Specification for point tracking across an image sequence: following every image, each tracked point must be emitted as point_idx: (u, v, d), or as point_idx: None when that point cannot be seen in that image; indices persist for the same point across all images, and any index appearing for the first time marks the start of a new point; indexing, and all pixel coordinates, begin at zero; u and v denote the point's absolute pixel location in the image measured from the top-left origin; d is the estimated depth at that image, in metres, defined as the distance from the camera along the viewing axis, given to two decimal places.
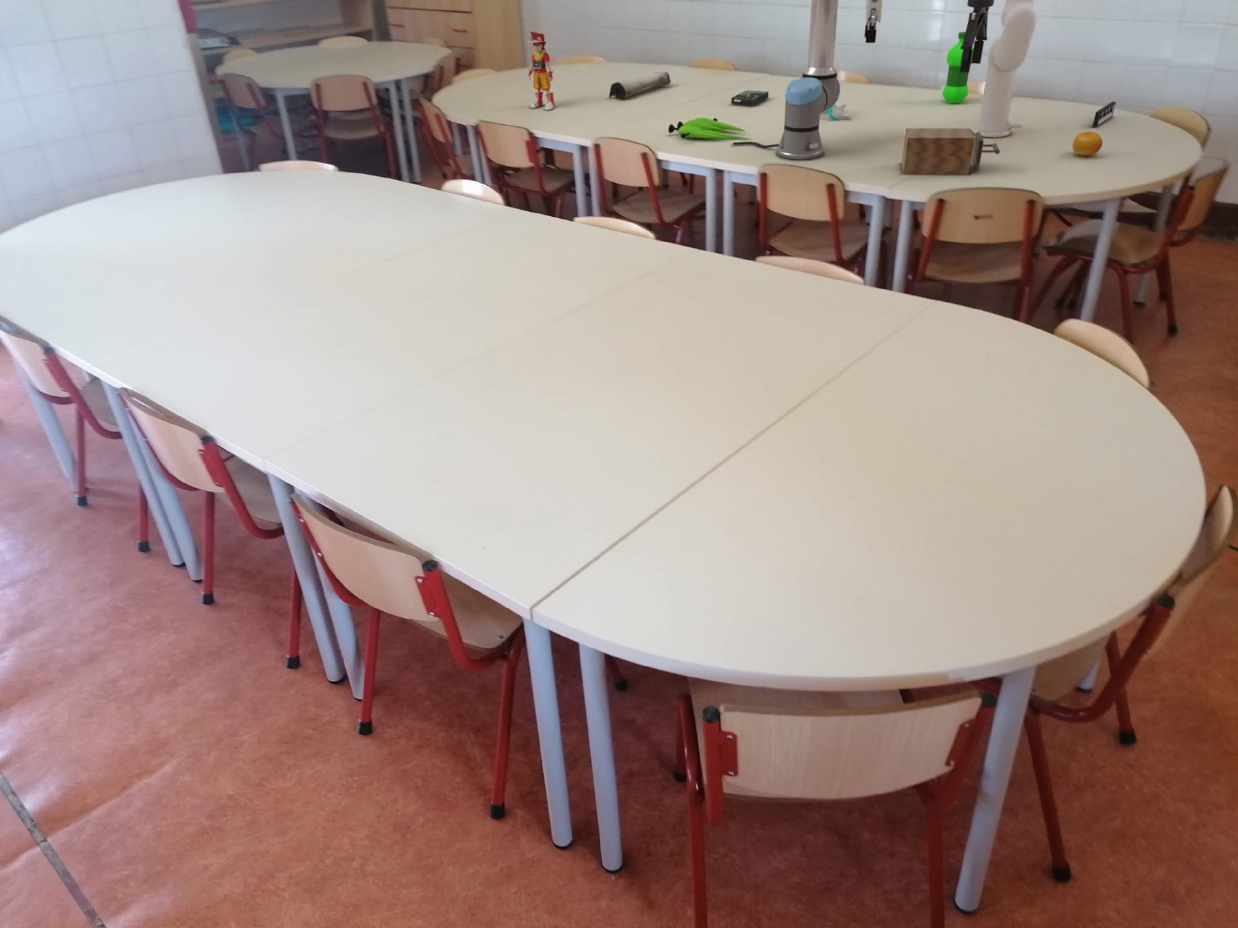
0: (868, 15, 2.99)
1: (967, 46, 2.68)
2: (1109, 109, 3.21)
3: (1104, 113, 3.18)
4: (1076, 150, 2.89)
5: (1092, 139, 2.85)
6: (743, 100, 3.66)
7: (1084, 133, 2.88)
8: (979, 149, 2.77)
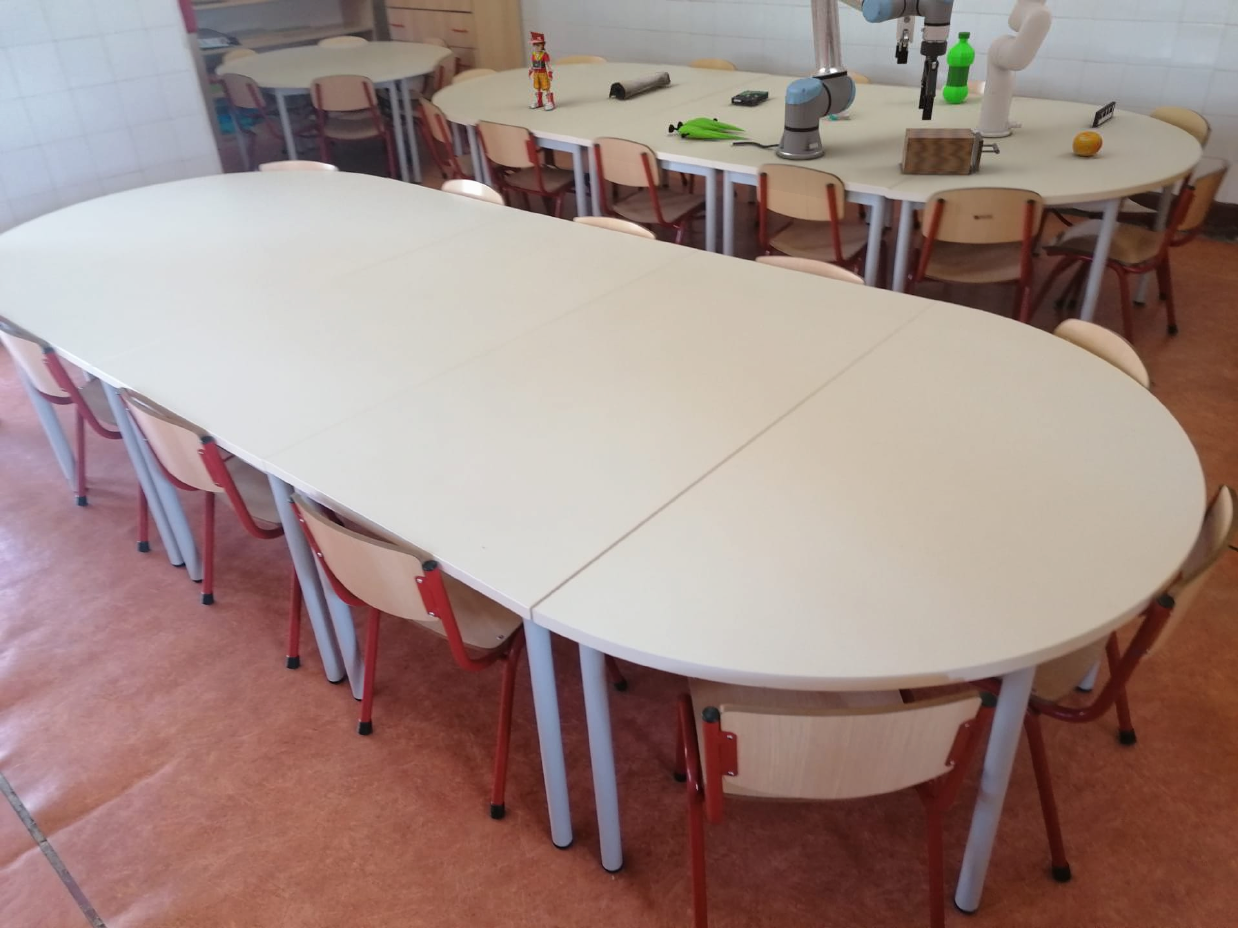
0: (900, 36, 2.91)
1: None
2: (1109, 109, 3.21)
3: (1104, 113, 3.18)
4: (1076, 150, 2.89)
5: (1092, 139, 2.85)
6: (743, 100, 3.66)
7: (1084, 133, 2.88)
8: (979, 149, 2.77)
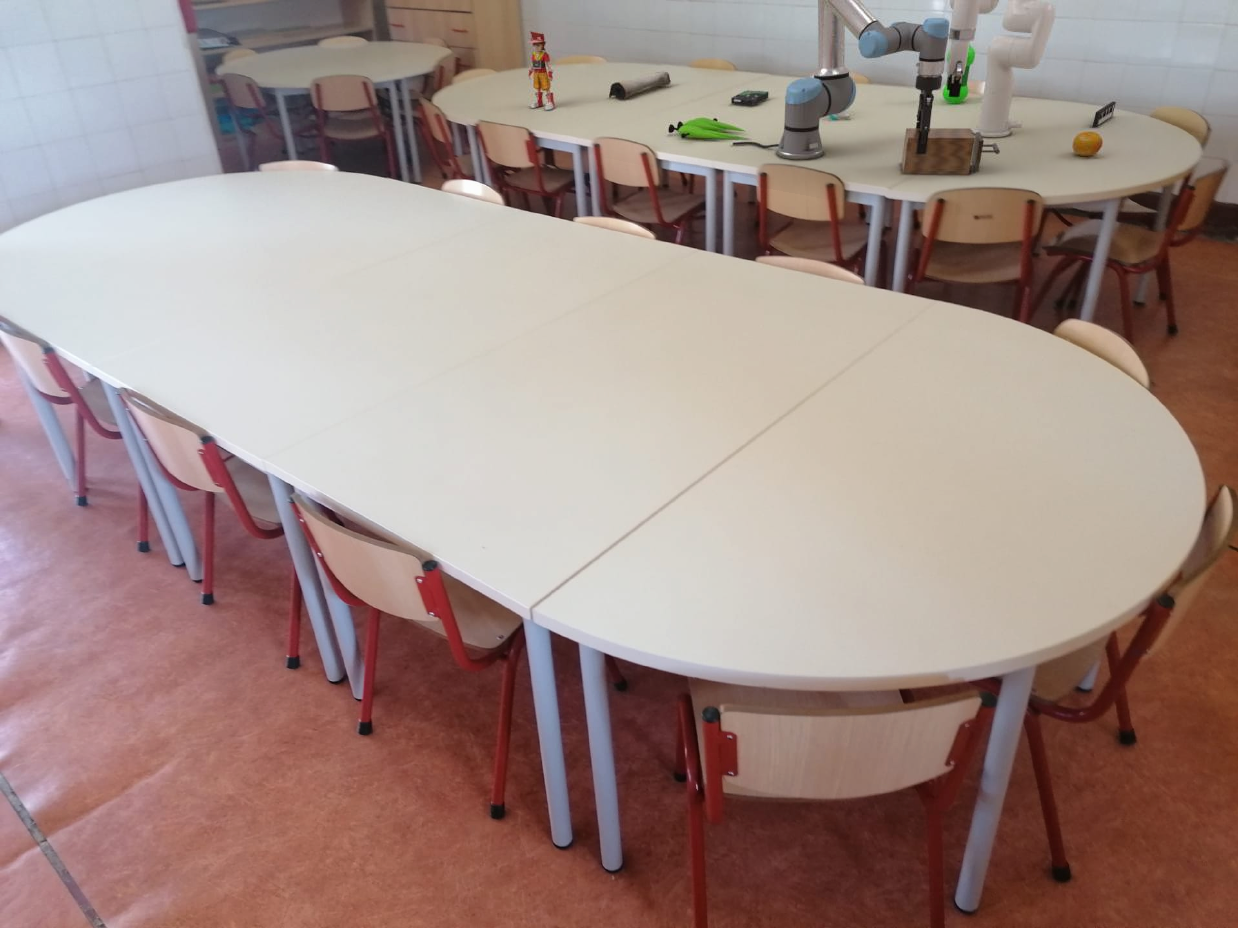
0: None
1: None
2: (1109, 109, 3.21)
3: (1104, 113, 3.18)
4: (1076, 150, 2.89)
5: (1092, 139, 2.85)
6: (743, 100, 3.66)
7: (1084, 133, 2.88)
8: (979, 149, 2.77)
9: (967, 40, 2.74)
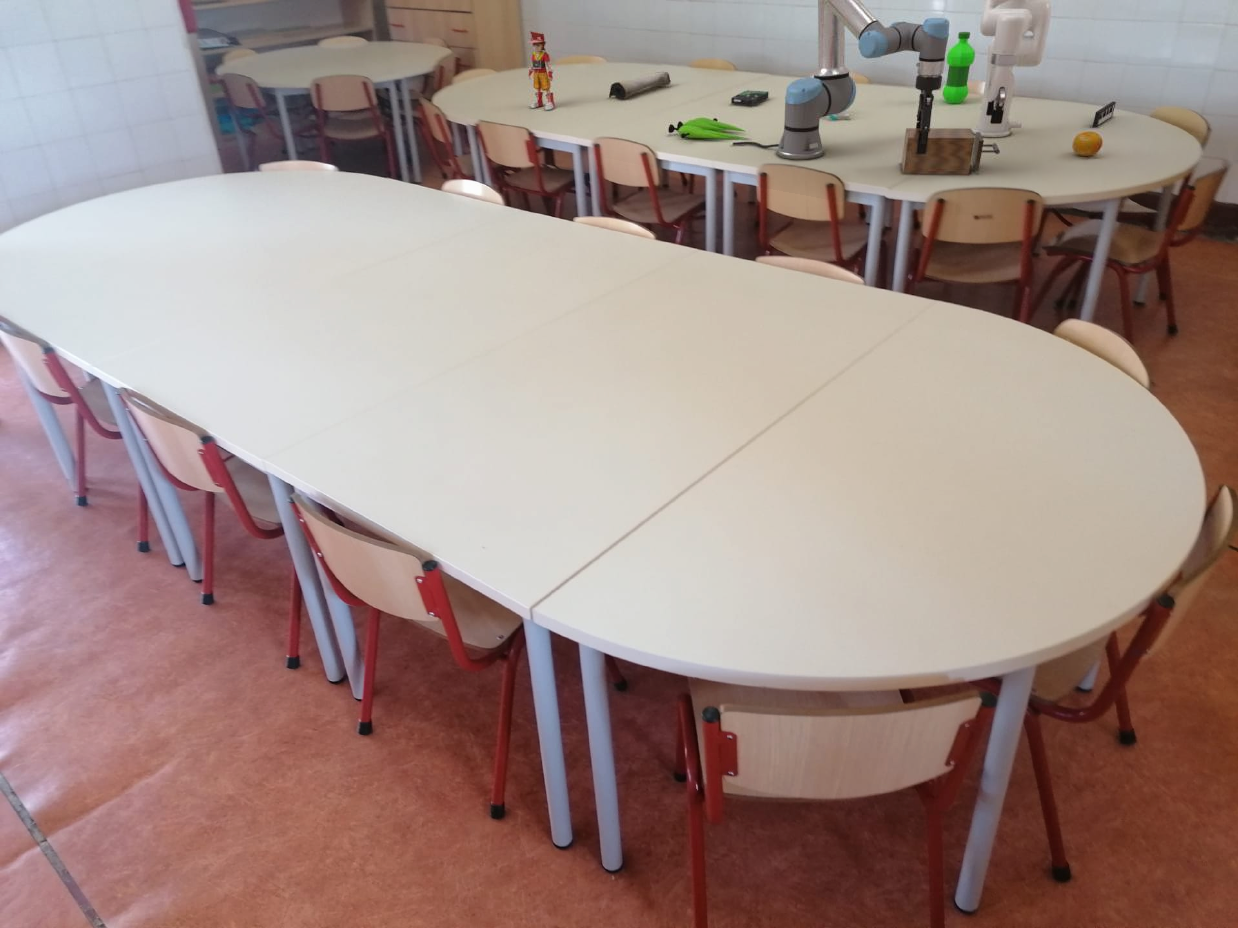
0: None
1: None
2: (1109, 109, 3.21)
3: (1104, 113, 3.18)
4: (1076, 150, 2.89)
5: (1092, 139, 2.85)
6: (743, 100, 3.66)
7: (1084, 133, 2.88)
8: (979, 149, 2.77)
9: (1010, 65, 2.64)
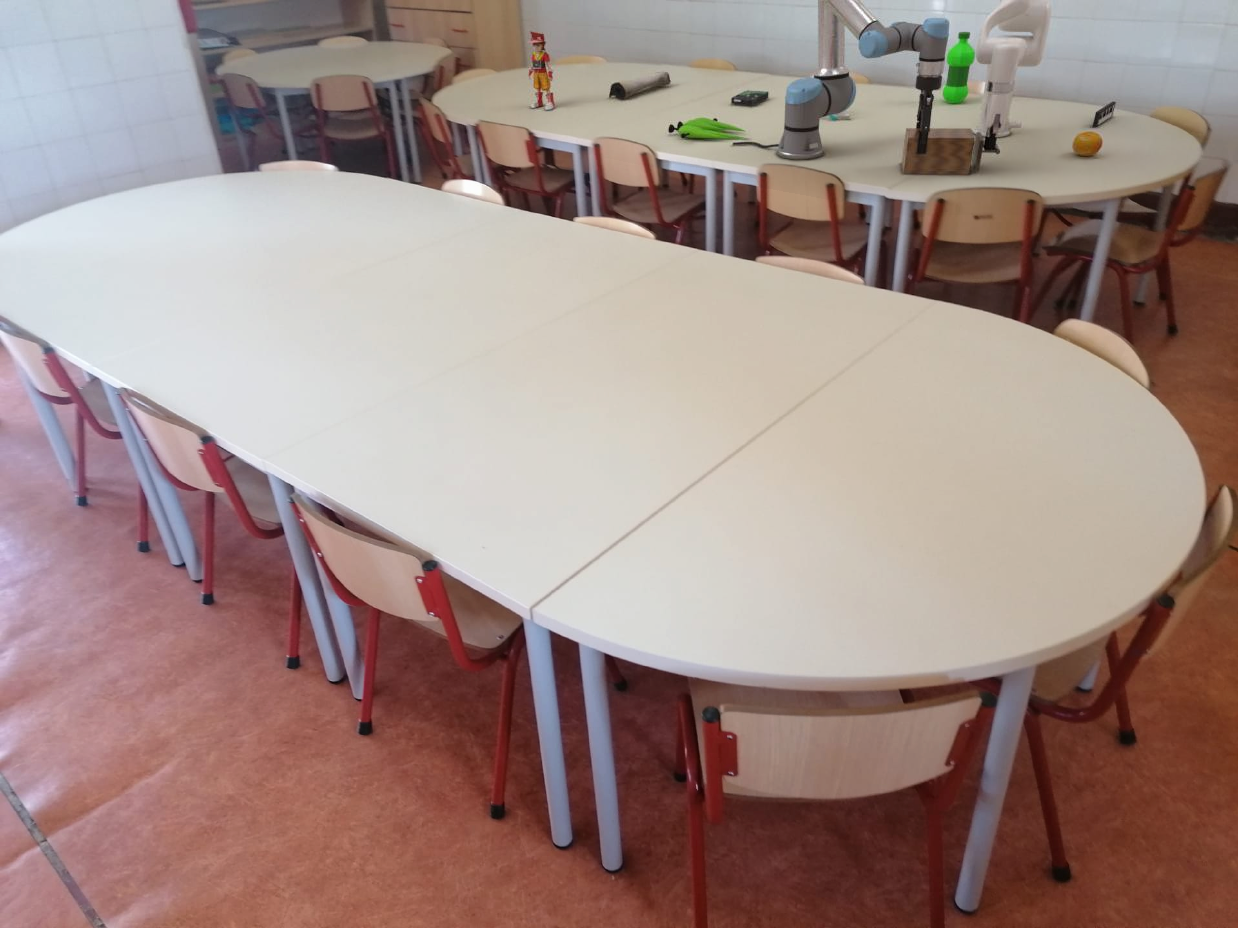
0: None
1: None
2: (1109, 109, 3.21)
3: (1104, 113, 3.18)
4: (1076, 150, 2.89)
5: (1092, 139, 2.85)
6: (743, 100, 3.66)
7: (1084, 133, 2.88)
8: (979, 149, 2.77)
9: (1006, 93, 2.68)
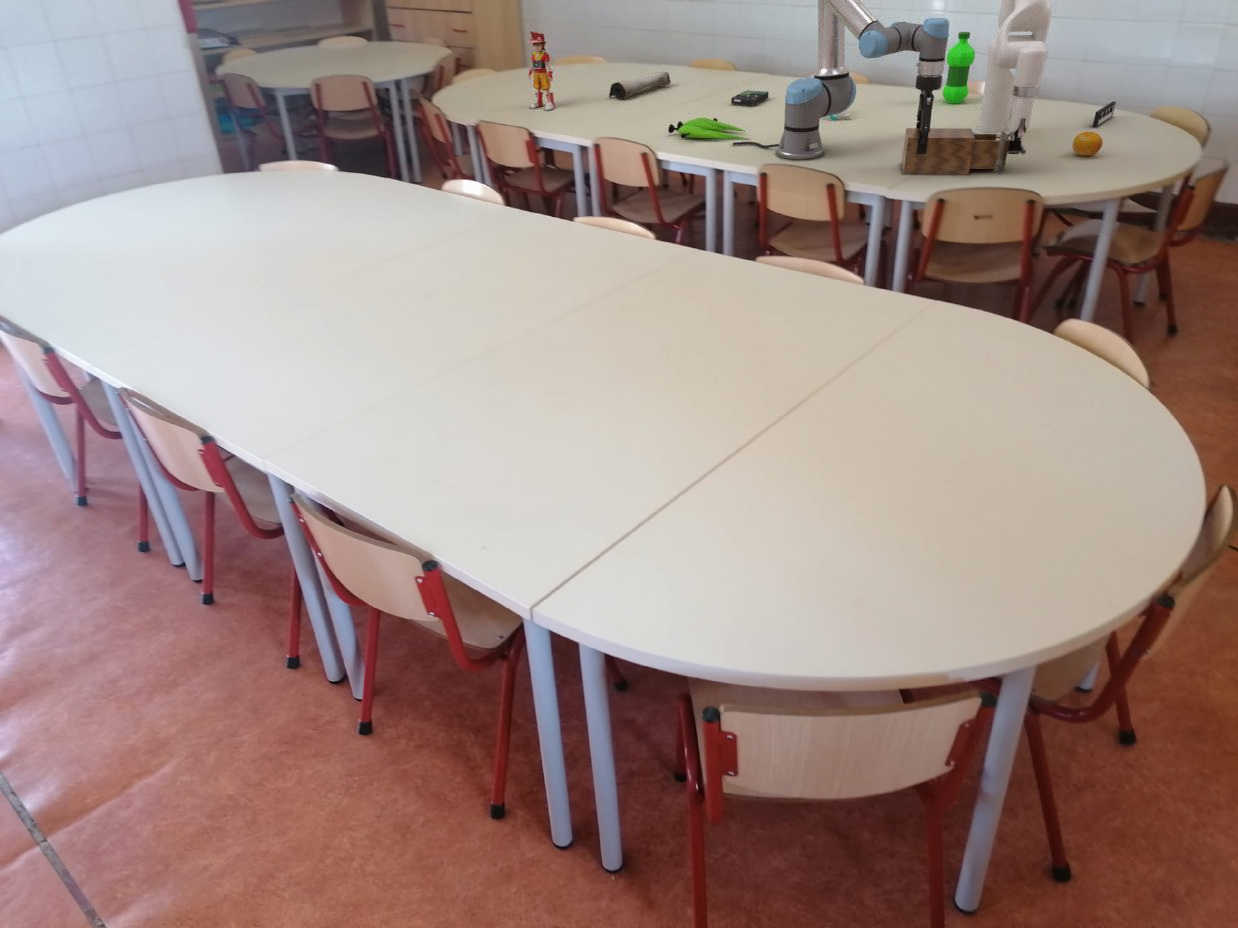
0: None
1: None
2: (1109, 109, 3.21)
3: (1104, 113, 3.18)
4: (1076, 150, 2.89)
5: (1092, 139, 2.85)
6: (743, 100, 3.66)
7: (1084, 133, 2.88)
8: (1005, 149, 2.76)
9: (1031, 97, 2.67)
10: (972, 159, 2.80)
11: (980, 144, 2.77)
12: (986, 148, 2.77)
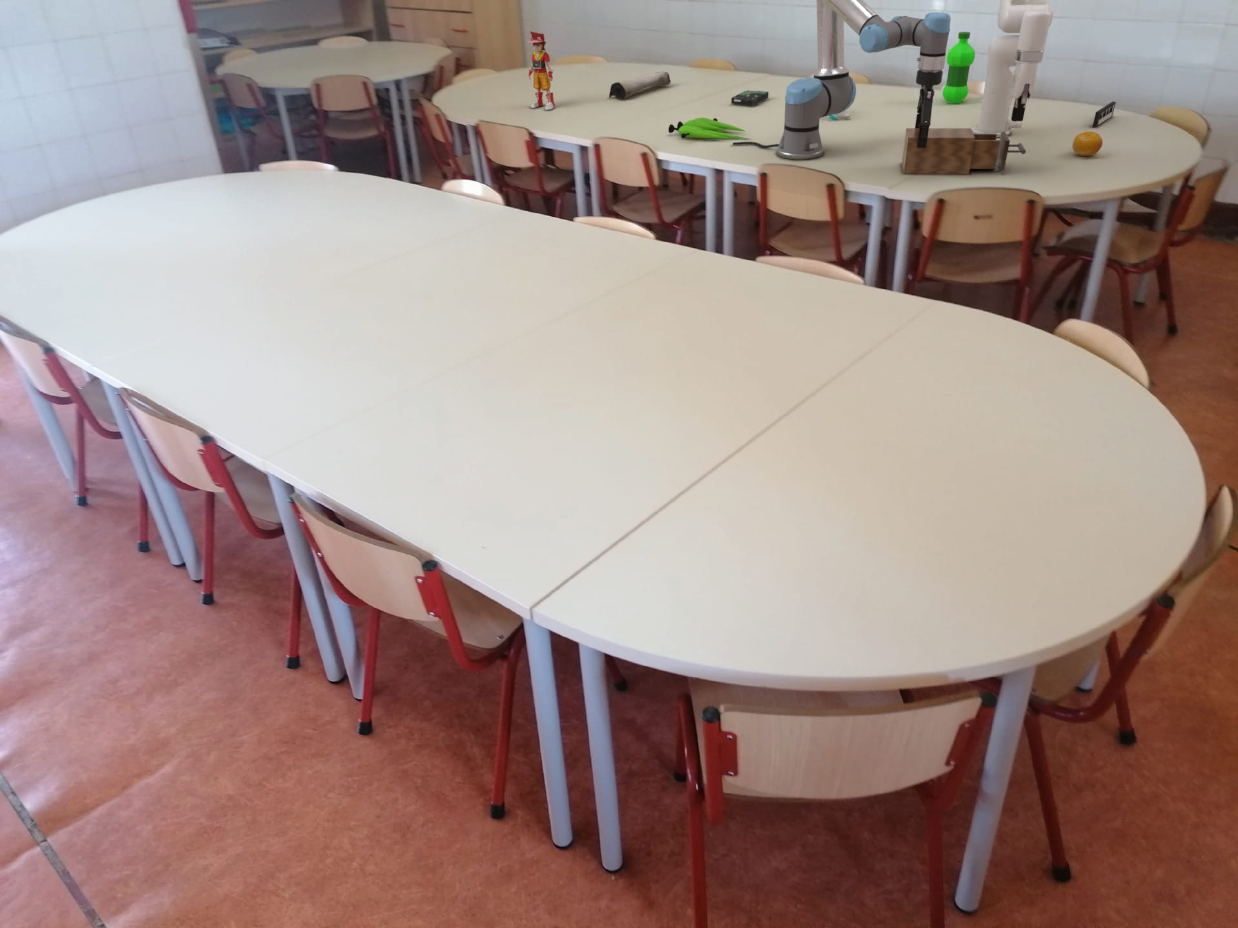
0: None
1: None
2: (1109, 109, 3.21)
3: (1104, 113, 3.18)
4: (1076, 150, 2.89)
5: (1092, 139, 2.85)
6: (743, 100, 3.66)
7: (1084, 133, 2.88)
8: (1005, 149, 2.76)
9: (1035, 62, 2.62)
10: (972, 159, 2.80)
11: (980, 144, 2.77)
12: (986, 148, 2.78)
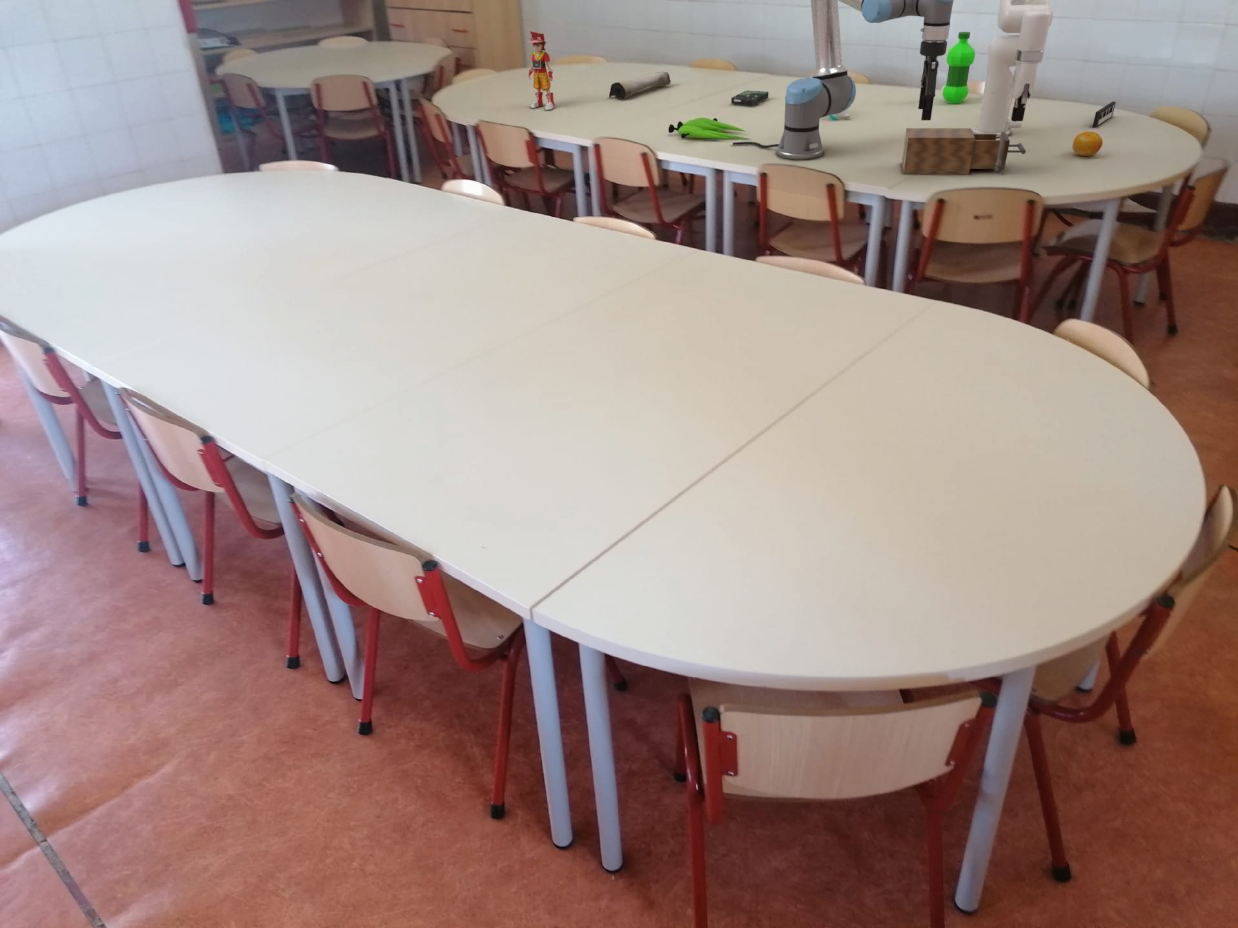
0: None
1: None
2: (1109, 109, 3.21)
3: (1104, 113, 3.18)
4: (1076, 150, 2.89)
5: (1092, 139, 2.85)
6: (743, 100, 3.66)
7: (1084, 133, 2.88)
8: (1005, 149, 2.76)
9: (1035, 62, 2.62)
10: (972, 159, 2.80)
11: (980, 144, 2.77)
12: (986, 148, 2.78)
